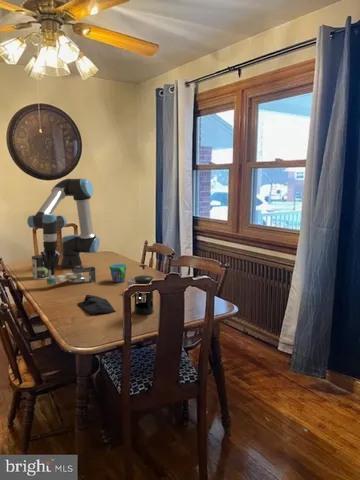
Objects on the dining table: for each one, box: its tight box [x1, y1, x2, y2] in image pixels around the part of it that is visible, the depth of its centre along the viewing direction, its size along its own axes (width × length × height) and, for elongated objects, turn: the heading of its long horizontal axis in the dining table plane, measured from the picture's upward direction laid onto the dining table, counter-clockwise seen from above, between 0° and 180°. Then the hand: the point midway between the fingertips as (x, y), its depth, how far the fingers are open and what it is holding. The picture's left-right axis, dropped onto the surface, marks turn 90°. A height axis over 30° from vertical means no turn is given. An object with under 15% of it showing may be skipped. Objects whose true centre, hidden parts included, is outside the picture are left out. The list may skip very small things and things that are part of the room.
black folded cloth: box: [77, 294, 117, 315], centre depth 185 cm, size 15×22×5 cm
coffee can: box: [31, 254, 49, 280], centre depth 241 cm, size 10×10×14 cm
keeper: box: [71, 266, 97, 283], centre depth 230 cm, size 14×3×9 cm, turn 126°
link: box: [46, 266, 84, 286], centre depth 226 cm, size 25×6×6 cm, turn 150°
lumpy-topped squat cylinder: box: [127, 276, 146, 295], centre depth 211 cm, size 10×13×9 cm
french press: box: [133, 264, 154, 316], centre depth 177 cm, size 12×9×23 cm
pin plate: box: [68, 274, 88, 284], centre depth 234 cm, size 11×11×2 cm
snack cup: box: [109, 263, 128, 284], centre depth 234 cm, size 16×10×10 cm
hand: (51, 280), depth 220 cm, fingers closed
